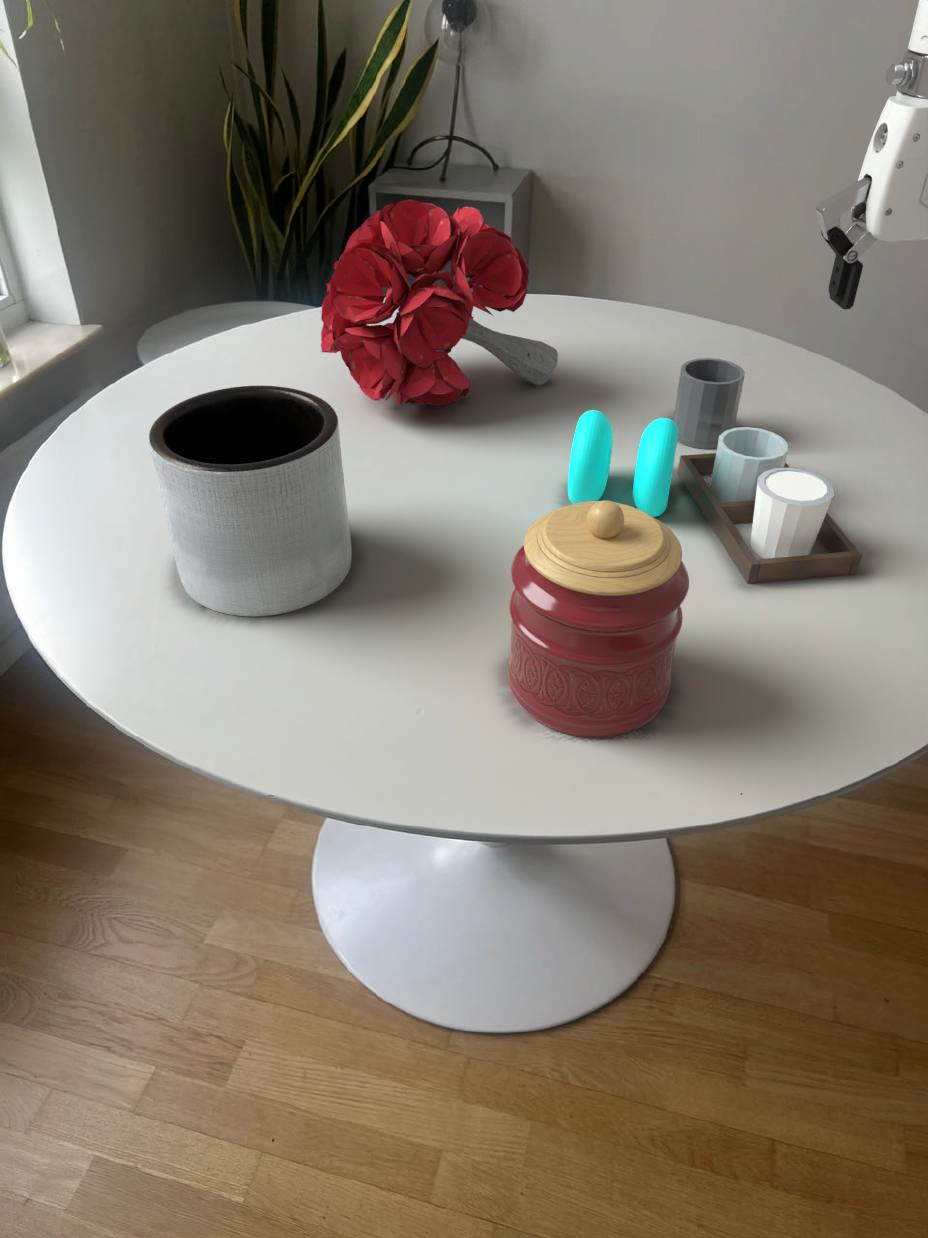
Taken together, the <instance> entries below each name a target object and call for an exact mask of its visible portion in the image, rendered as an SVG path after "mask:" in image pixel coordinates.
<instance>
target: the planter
mask: <svg viewBox="0 0 928 1238" xmlns="http://www.w3.org/2000/svg"><path fill="white" fill-rule="evenodd" d="M339 427H340V426H339V418H338V415H337V413H336V411H335V409H334V408H333V406H332V405H331V404H329V403H328V402H327V401H326V400H324V399H323V398H321V397H319V396H317V395H315V394H312V393H310V392H307V391H304V390H300V389H296V388H291V387H286V386H278V385H242V386H234V387H233V386H232V387H226V388H225V387H224V388H220V389H216V390H211V391H208V392H204V393H200V394H198V395H195V396H192V397H190V398H187V399H184V400H182V401H181V402H179V403H177V404H175V405H173V406H171V407H170V408H168V409H167V410H166V411H164V412H163V413H162V414H161V415H159V416H158V417H157V419H156V420H155V421H154V422H153V423H152V425H151V427H150V430H149V433H148V443H149V447H150V452H151V457H152V460H153V464H154V469H155V474H156V478H157V482H158V486H159V492H160V494H161V500H162V504H163V509H164V513H165V519H166V523H167V528H168V532H169V537H170V542H171V546H172V552H173V556H174V560H175V565H176V569H177V573H178V578H179V579H180V580H179V581H180V582H181V584H182V587H183V589H184V590H185V592H186V593H187V595H188V596H189V597H190V598H191V599H192V600H194V601H195V602H196V603H198V604H199V605H201V606H202V607H205V608H206V609H209V610H212V611H214V612H217V613H220V614H225V615H230V616H238V617H267V616H269V617H270V616H277V615H281V614H286V613H290V612H294V611H297V610H301V609H303V608H306V607H308V606H311V605H313V604H314V603H317V602H319V601H321V600H322V599H324V598H326V597H327V596H328V595H330V594H331V593H333V592H334V591H335V590H336V589H337V588H338V587H339V586H340V585H341V584H342V583H343V581H344V580H346V577H347V576H348V574H349V572H350V569H351V565H352V554H353V550H352V538H351V529H350V520H349V513H348V512H349V510H348V503H347V494H346V485H345V475H344V467H343V458H342V447H341V438H340V437H341V436H340V428H339Z"/></svg>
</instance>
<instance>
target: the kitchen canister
mask: <svg viewBox="0 0 928 1238" xmlns="http://www.w3.org/2000/svg"><path fill="white" fill-rule="evenodd" d="M679 540H680V539H679V538H678V537H677V535H676V534H675V533H674V532H673V531H672V530H671V529H670V527H669V526H667V525H666V524H664V523H663V522H662V521H660V520H659V519H658V518H656V517H652V516H650V515H648V514H646V513H645V512H643V511H641V510H639V509H637V507H634V506H631V505H628V504H624V503H620V502H614V501H611V500H599V501H588V502H580V503H576V504H572V503H571V504H569V505H566V506H564V507H560V508H557V509H555V510H552V511H549V512H547V513H546V514H543V515H542V516H540V517H539V518H537V519H536V520H535V521H534V522H533V523H532V524H531V525H530V526H529V527H528V529H527V530H526V533H525V536H524V539H523V544H522V545H521V546H520V548H519V549H518V550H517V552H516V554H515V555H514V557H513V560H512V563H511V567H510V575H511V580H512V581H511V582H512V584H513V586H514V589H513V591H512V593H511V596H510V600H509V614H510V618H511V624H510V625H511V626H510V627H511V629H510V650H509V654H508V658H507V667H506V668H507V671H506V673H507V674H506V677H507V683H508V687H509V689H510V691H511V694H512V696H513V699H514V701H515V702H516V703H517V704H518V706H519V707H520V709H521V710H522V711H523V712H524V713H526V714H527V715H528V716H529V717H530V718H531V719H532V720H534V721H535V722H537V723H539V724H540V725H542V726H544V727H546V728H548V729H551V730H553V731H556V732H559V733H562V734H565V735H568V736H573V737H579V738H586V739H587V738H588V739H589V738H590V739H591V738H592V739H604V738H611V737H619V736H622V735H625V734H628V733H632V732H634V731H636V730H638V729H640V728H642V727H644V726H645V725H647V724H648V723H650V722H651V721H652V720H653V719H654V718H655V717H656V716H657V715H658V714H659V713H660V711H661V710H662V709H663V707H664V706H665V704H666V702H667V699H668V697H669V694H670V688H671V684H672V664H673V660H674V655H675V654H674V653H675V649H676V644H677V639H678V636H679V635H680V633H681V629H682V626H683V619H684V617H683V609H682V606H681V605H682V604H683V603H684V601H685V599H686V597H687V596H688V592H689V589H690V577H689V573H688V570H687V568H686V565H685V563H684V562H683V561H682V560H683V549H682V545H681V542H680V541H679Z"/></svg>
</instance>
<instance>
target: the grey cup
mask: <svg viewBox="0 0 928 1238" xmlns="http://www.w3.org/2000/svg"><path fill="white" fill-rule="evenodd" d="M745 375H746V371H745V370H744V368H743V367H741V365H738V364H737V363H735V362H732V361H730V360H725V359H721V358H713V357H701V358H694V359H690V360H687V361H686V362H684V363H682V365H681V367H680V374H679V378H678V379H679V380H678V386H677V392H676V399H675V406H674V413H673V419H672V420H673V421H674V422H675V423H676V425H677V427H678V439H677V443H678V442H679V443H680V444H682V445H685V446H687V447H691V448H694V449H703V450H712V449H717V444H718V439H719V436H720V435H721V434H722V433H723V432H724V431H726V430H729V429H733V428H736V427H735V426H736V421H737V417H738V411H739V406H740V401H741V396H742V391H743V387H744V381H745Z"/></svg>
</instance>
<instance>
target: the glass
mask: <svg viewBox="0 0 928 1238" xmlns="http://www.w3.org/2000/svg"><path fill="white" fill-rule="evenodd" d="M715 449H716V451H715V453H716V455H715V460H714V465H713V470H712V474H711V477H710V482H709V485H708V487H709V489H710V490H711V492H712V493H713V495H714V496H715V498H716V499H717V501H718V502H719V503H725V502H738V501H751V500H755V499H756V490H757V482H758V477H759V476H760V475H761V474H762V473H763V472H765V471H768V470H771V469H774V468H784V465H785V462H786V460H787V456H788V452H789V443H788V442H787V441H786V440H785V438H783V436H780V435H779V434H777V433H775V432H773V431H770V430H767V429H763V428H760V427H759V428H758V427H752V426H751V427H750V426H749V427H748V426H745V427H744V426H743V427H742V426H741V427H740V426H739V427H734V428H733V429H729V430H726V431H724V432H723V433H722V434H721V435H720V436H719V439H718V444H717V448H715Z"/></svg>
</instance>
